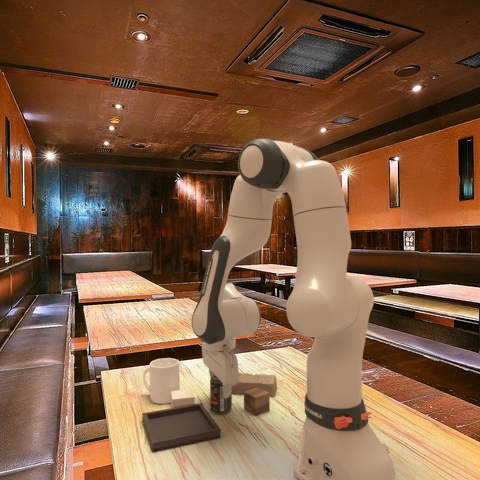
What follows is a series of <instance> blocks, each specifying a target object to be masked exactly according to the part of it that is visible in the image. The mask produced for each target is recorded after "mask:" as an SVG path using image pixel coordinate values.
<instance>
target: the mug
mask: <svg viewBox="0 0 480 480" xmlns="http://www.w3.org/2000/svg"><path fill="white" fill-rule="evenodd" d="M147 373H149V384H147V382H146V379H145V377H146V374H147ZM142 376H143V377H142V380H143V385H144V387H145V389H146V390H147V391H149V396H150V401H151V402H152V403H154V404H157V405H167V404H171V391H177V390H181V389H180V385H181V384H180V383H181V380H180V377H181V376H180V360H179V359H176V358H171V357H166V358H165V357H164V358H157V359H154V360H152V361H150V363H149V365H148V366H147V367H146V368H145V369H144V371H143V374H142Z"/></svg>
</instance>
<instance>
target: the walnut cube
mask: <svg viewBox="0 0 480 480" xmlns="http://www.w3.org/2000/svg"><path fill="white" fill-rule="evenodd" d="M270 397H271V396H269V393H268V392H266V391H264V390H262V389H260V388H254V389H251V390H248V391H245V392H244V395H243V410H244V411H246V412H248V413H249V414H251V415H253V416H255V417H257V416H260V415H262V414H265V413H268V412H270V409H271V407H270V405H271V404H270V401H271V400H270Z"/></svg>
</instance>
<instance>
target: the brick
mask: <svg viewBox="0 0 480 480" xmlns="http://www.w3.org/2000/svg"><path fill="white" fill-rule="evenodd" d="M238 373H239V381H238V384H237V385H233V386H232V395H235V396H236V395H238V396H244V392H245V391H248V390H251V389H254V388H260V389H262V390H264V391H266V392H268V393H269V397H275V396H276V392H277V389H278V386H277V385H278V383H277V376H276V375H275V374H265V373H264V374H262V373H259V374H257V373H256V374H251V373H246V372H245V373H244V372H243V373H242V372H239V371H238Z"/></svg>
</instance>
